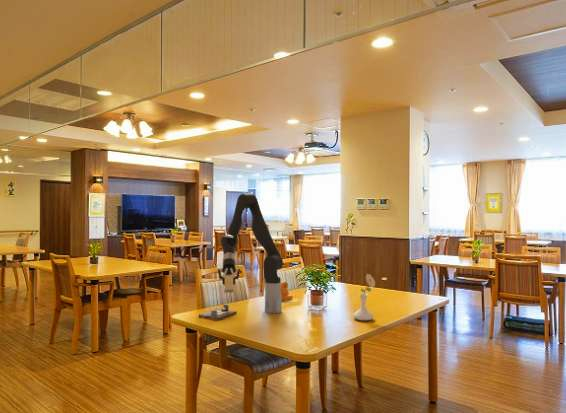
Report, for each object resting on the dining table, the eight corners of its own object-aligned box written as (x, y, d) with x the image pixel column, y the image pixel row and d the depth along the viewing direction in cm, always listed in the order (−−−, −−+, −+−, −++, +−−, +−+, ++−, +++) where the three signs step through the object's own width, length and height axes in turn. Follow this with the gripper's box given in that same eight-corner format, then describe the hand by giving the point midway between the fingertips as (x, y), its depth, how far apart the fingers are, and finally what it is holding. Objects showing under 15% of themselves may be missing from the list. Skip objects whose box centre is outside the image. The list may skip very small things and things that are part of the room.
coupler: (233, 290, 251) (233, 274, 252) (233, 292, 246) (233, 275, 246) (224, 290, 251) (224, 274, 251) (224, 292, 246) (224, 275, 246)
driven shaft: (218, 314, 232) (218, 309, 232) (216, 316, 228) (216, 311, 228) (213, 314, 232) (213, 309, 232) (211, 316, 228) (211, 310, 228)
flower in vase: (361, 323, 223) (361, 276, 224) (348, 318, 234) (349, 273, 234) (380, 320, 230) (380, 274, 230) (367, 315, 240) (367, 272, 240)
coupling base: (236, 313, 241) (236, 310, 241) (219, 320, 226) (219, 317, 226) (216, 311, 247) (216, 308, 247) (198, 317, 232) (198, 314, 232)
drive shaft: (228, 310, 243) (228, 304, 243) (224, 311, 240) (224, 306, 240) (224, 309, 245) (224, 304, 245) (220, 310, 241) (220, 305, 241)
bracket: (280, 301, 277) (280, 283, 277) (274, 299, 283) (274, 281, 283) (293, 299, 283) (293, 281, 283) (287, 297, 289) (287, 280, 289)
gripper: (217, 257, 255) (216, 280, 243) (240, 257, 257) (241, 280, 245) (217, 265, 260) (216, 288, 248) (240, 265, 262) (240, 287, 250)
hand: (228, 284), depth 247 cm, fingers closed on coupler, 5 cm apart
